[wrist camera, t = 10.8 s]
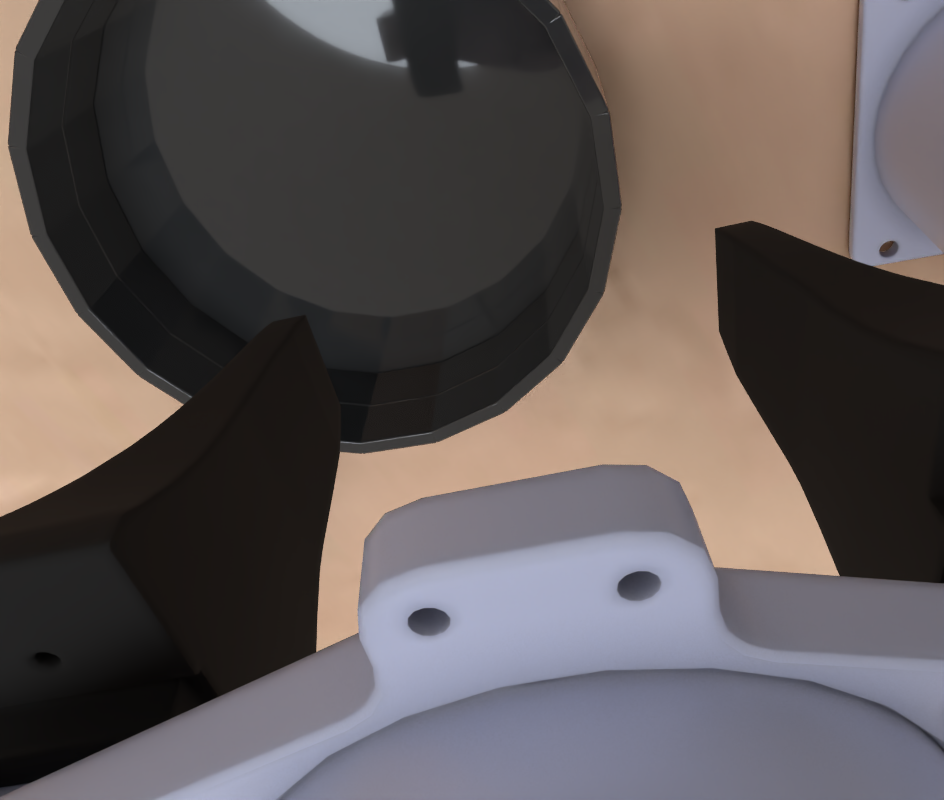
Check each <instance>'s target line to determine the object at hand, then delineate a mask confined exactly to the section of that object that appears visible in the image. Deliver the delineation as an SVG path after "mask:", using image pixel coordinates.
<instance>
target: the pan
mask: <svg viewBox="0 0 944 800" xmlns="http://www.w3.org/2000/svg"><path fill="white" fill-rule="evenodd" d="M8 145H9V146H8V148H9V152H10V156H11V160H12V164H13V168H14V172H15V175H16V179H17V183H18V187H19V191H20V195H21V199H22V203H23V207H24V210H25V214H26V218H27V222H28V226H29V230H30V234H31V235H32V238H33V240H34V242H35V244H36V245H37V247H38V249H39V250H40V252H41V254H42V255H43V257H44V259H45V261H46V262H47V264H48V266H49V267H50V269H51V271H52V272H53V274H54V276H55V278H56V279H57V281H58V283H59V284H60V286H61V288H62V289H63V291H64V293H65V295H66V296H67V298H68V300H69V301H70V303H71V305H72V306H73V308H74V310H75V312H76V313H78V316H79V317H80V318H81V319H82V320H83V321H84V322H85V323H86V324H87V325H88V326H89V327H90V328H91V329H92V330H93V331H94V332H95V333H96V334H97V335H98V336H99V337H100V338H101V339H102V340H103V341H104V342H105V343H106V344H107V345H108V346H109V347H110V348H111V349H112V350H113V351H114V352H115V353H116V354H117V355H118V356H119V357H120V358H121V359H122V360H123V361H124V362H125V363H126V364H127V365H128V366H129V367H130V368H131V369H132V370H133V371H134V372H135V373H136V374H137V375H139V376H140V377H141V378H142V379H144V380H146V381H147V382H149V383H150V384H152V385H154V386H155V387H157V388H158V389H160V390H162V391H163V392H165V393H166V394H168V395H170V396H171V397H173V398H174V399H176V400H178V401H179V402H181V403H182V404H185V403H186V402H187V401H188V400H190V399H191V398H192V397H193V396H194V395H195V394H196V393H197V392H198V391H199V390H201V389H202V388H203V387H204V386H205V385H206V384H207V383H208V382H209V381H211V380H212V379H213V378H214V377H215V376H216V375H217V374H218V373H219V372H220V371H221V370H222V369H223V368H224V367H225V366H226V365H227V364H228V363H229V362H230V361H231V360H232V359H233V358H234V357H235V356H236V355H237V354H238V353H239V352H240V351H241V350H242V349H243V348H244V347H245V346H246V345H247V344H248V343H249V342H250V341H251V340H252V339H253V338H254V337H255V336H256V335H257V334H258V333H259V332H260V331H261V330H263V329H264V328H265V327H266V326H267V325H269V324H270V323H271V322H273V321H278V320H282V319H287V318H292V317H297V316H301V315H306V318H307V320H308V323H309V325H310V328H311V330H312V333H313V336H314V338H315V341H316V343H317V346H318V349H319V351H320V354H321V356H322V359H323V362H324V364H325V367H326V369H327V372H328V374H329V377H330V380H331V382H332V385H333V387H334V390H335V393H336V395H337V398H338V400H339V403H340V405H341V436H340V452H348V453H359V454H362V453H363V454H365V453H372V452H378V451H385V450H391V449H398V448H405V447H411V446H418V445H425V444H431V443H436V442H440V441H442V440H444V439H446V438H449V437H451V436H453V435H455V434H457V433H460V432H462V431H464V430H466V429H469V428H471V427H473V426H475V425H478V424H480V423H482V422H484V421H487V420H489V419H491V418H493V417H496V416H498V415H500V414H502V413H504V412H505V411H507V410H508V409H510V408H511V407H512V406H513V405H514V404H515V403H516V402H518V401H519V400H520V399H521V398H522V397H523V396H525V395H526V394H527V393H528V392H529V391H530V390H531V389H533V388H534V387H535V386H536V385H537V384H538V383H540V382H541V381H542V380H543V379H544V378H545V377H546V376H548V375H549V374H550V373H551V372H552V371H553V370H554V369H556V368H557V367H558V366H559V365H560V364H561V363H562V361H564V360H565V358H566V356H567V355H568V353H569V351H570V350H571V348H572V346H573V345H574V343H575V341H576V340H577V338H578V336H579V334H580V333H581V331H582V329H583V328H584V326H585V324H586V323H587V321H588V319H589V318H590V316H591V314H592V313H593V311H594V309H595V308H596V306H597V304H598V303H599V301H600V299H601V298H602V296H603V293H604V291H605V287H606V282H607V277H608V272H609V268H610V263H611V258H612V253H613V248H614V244H615V239H616V234H617V229H618V224H619V219H620V215H621V210H622V209H621V206H622V203H621V195H620V187H619V180H618V172H617V164H616V157H615V149H614V141H613V133H612V126H611V118H610V112H609V108H608V105H607V102H606V98H605V95H604V92H603V89H602V85H601V82H600V79H599V75H598V72H597V69H596V66H595V64H594V62H593V60H592V58H591V56H590V54H589V52H588V50H587V47H586V45H585V43H584V41H583V39H582V37H581V35H580V33H579V31H578V29H577V27H576V25H575V23H574V21H573V19H572V17H571V14H570V12H569V10H568V8H567V6H566V4H565V2H564V0H39V1H38V3H37V5H36V7H35V9H34V11H33V13H32V15H31V17H30V19H29V22H28V24H27V26H26V28H25V30H24V32H23V34H22V36H21V38H20V40H19V42H18V44H17V46H16V51H15V56H14V69H13V83H12V96H11V110H10V123H9V136H8Z"/></svg>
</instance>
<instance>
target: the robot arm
mask: <svg viewBox="0 0 944 800" xmlns="http://www.w3.org/2000/svg"><path fill="white" fill-rule="evenodd" d="M715 240H716V265H717V291H718V316H719V332H720V335H721V337H722V340H723V343H724V345H725V348H726V350H727V353H728V356H729V358H730V360H731V363H732V365H733V368H734V370H735V372H736V375H737V377H738V378H739V380H740V382H741V384H742V385H743V387H744V389H745V390H746V392H747V394H748V395H749V397H750V399H751V401H752V402H753V404H754V406H755V407H756V409H757V411H758V412H759V414H760V416H761V417H762V419H763V420H764V422H765V424H766V425H767V427H768V429H769V430H770V432H771V434H772V435H773V437H774V439H775V440H776V442H777V444H778V445H779V447H780V449H781V450H782V452H783V454H784V455H785V457H786V459H787V460H788V462H789V464H790V465H791V467H792V469H793V471H794V473H795V475H796V477H797V478H798V480H799V482H800V484H801V486H802V489H803V491H804V493H805V495H806V498H807V500H808V502H809V504H810V507H811V509H812V511H813V513H814V516H815V518H816V520H817V523H818V525H819V527H820V529H821V532H822V534H823V537H824V539H825V541H826V544H827V546H828V549H829V551H830V553H831V556H832V558H833V561H834V563H835V566H836V568H837V570H838V573H839V575H840V576H830V575H816V574H802V573H788V572H774V571H760V570H746V569H732V568H717V567H714V566H713V563H712V560H711V558H710V555H709V552H708V550H707V547H706V544H705V542H704V539H703V536H702V534H701V531H700V528H699V526H698V523H697V520H696V518H695V515H694V512H693V510H692V508H691V505H690V503H689V501H688V499H687V497H686V495H685V493H684V491H683V489H682V487H681V485H680V483H679V482H678V481H676V480H674V479H672V478H670V477H668V476H666V475H664V474H662V473H660V472H658V471H657V470H655V469H653V468H651V467H649V466H647V465H598V466H593V467H587V468H582V469H576V470H571V471H566V472H560V473H555V474H549V475H544V476H539V477H533V478H528V479H522V480H517V481H512V482H506V483H501V484H495V485H490V486H485V487H479V488H474V489H468V490H463V491H458V492H452V493H447V494H441V495H436V496H431V497H425V498H421V499H419V500H416V501H414V502H411V503H409V504H407V505H404V506H402V507H399V508H397V509H394V510H392V511H390V512H387V513H385V514H384V515H383V517H382V518H381V519H380V521H379V522H378V523H377V524H376V526H375V527H374V528H373V529H372V531H371V532H370V533H369V535H368V536H367V537H366V538H365V542H364V552H363V562H362V572H361V582H360V592H359V602H358V625H359V633H357V634H355V635H353V636H351V637H348V638H346V639H344V640H342V641H340V642H337V643H335V644H333V645H331V646H329V647H326V648H324V649H322V650H320V651H318V652H316V640H317V611H318V594H319V576H320V565H321V557H322V550H323V544H324V538H325V533H326V527H327V522H328V517H329V511H330V506H331V500H332V495H333V489H334V484H335V478H336V472H337V466H338V461H339V454H340V436H341V405H340V403H339V400H338V398H337V395H336V393H335V390H334V387H333V385H332V382H331V380H330V377H329V374H328V372H327V369H326V367H325V364H324V362H323V359H322V356H321V354H320V351H319V349H318V346H317V343H316V341H315V338H314V336H313V333H312V330H311V328H310V325H309V323H308V320H307V318H306V315H301V316H297V317H292V318H287V319H282V320H278V321H273V322H271V323H270V324H269V325H267V326H266V327H265V328H264V329H263V330H261V331H260V332H259V333H258V334H257V335H256V336H255V337H254V338H253V339H252V340H251V341H250V342H249V343H248V344H247V345H246V346H245V347H244V348H243V349H242V350H241V351H240V352H239V353H238V354H237V355H236V356H235V357H234V358H233V359H232V360H231V361H230V362H229V363H228V364H227V365H226V366H225V367H224V368H223V369H222V370H221V371H220V372H219V373H218V374H217V375H216V376H215V377H214V378H213V379H212V380H211V381H209V382H208V383H207V384H206V385H205V386H204V387H203V388H202V389H201V390H199V391H198V392H197V393H196V394H195V395H194V396H193V397H192V398H191V399H190V400H188V401H187V402H186V403H185V404H184V405H183V406H182V407H181V408H180V409H178V410H177V411H176V412H175V413H174V414H173V415H171V416H170V417H169V418H168V419H166V420H165V421H164V422H163V423H161V424H160V425H159V426H158V427H156V428H155V429H154V430H152V431H151V432H149V433H148V434H147V435H145V436H144V437H143V438H141V439H140V440H139V441H137V442H136V443H134V444H133V445H131V446H130V447H129V448H127V449H126V450H124V451H122V452H121V453H119V454H118V455H116V456H114V457H113V458H111V459H110V460H108V461H106V462H105V463H103V464H102V465H100V466H98V467H97V468H95V469H94V470H92V471H90V472H89V473H87V474H86V475H84V476H82V477H80V478H79V479H77V480H75V481H73V482H71V483H69V484H68V485H66V486H64V487H62V488H60V489H58V490H56V491H54V492H52V493H50V494H48V495H46V496H44V497H42V498H40V499H38V500H36V501H34V502H32V503H30V504H28V505H26V506H24V507H22V508H20V509H18V510H15V511H13V512H11V513H8V514H6V515H4V516H1V517H0V800H944V285H940V284H936V283H932V282H927V281H923V280H919V279H915V278H910V277H906V276H903V275H899V274H895V273H892V272H888V271H885V270H882V269H879V268H876V267H873V266H877V265H883V264H889V263H894V262H900V261H906V260H912V259H917V258H923V257H929V256H935V255H940V254H944V0H859V24H858V47H857V70H856V93H855V116H854V140H853V163H852V186H851V209H850V232H849V254H850V257H851V258H852V259H849V258H846V257H844V256H841V255H838V254H836V253H833V252H831V251H828V250H825V249H823V248H820V247H818V246H815V245H813V244H811V243H808V242H806V241H803V240H801V239H799V238H796V237H794V236H791V235H789V234H787V233H784V232H782V231H779V230H777V229H774V228H772V227H769V226H767V225H764V224H761V223H758V222H754V221H748V222H744V223H739V224H734V225H729V226H725V227H720V228H715ZM888 241H894V242H893V245H892V246H891V247H890V248H889V249H888V250H886V251H883V252H882V251H879V250H880V247H881V246H882V245H883V244H884V243H885V242H888Z"/></svg>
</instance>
